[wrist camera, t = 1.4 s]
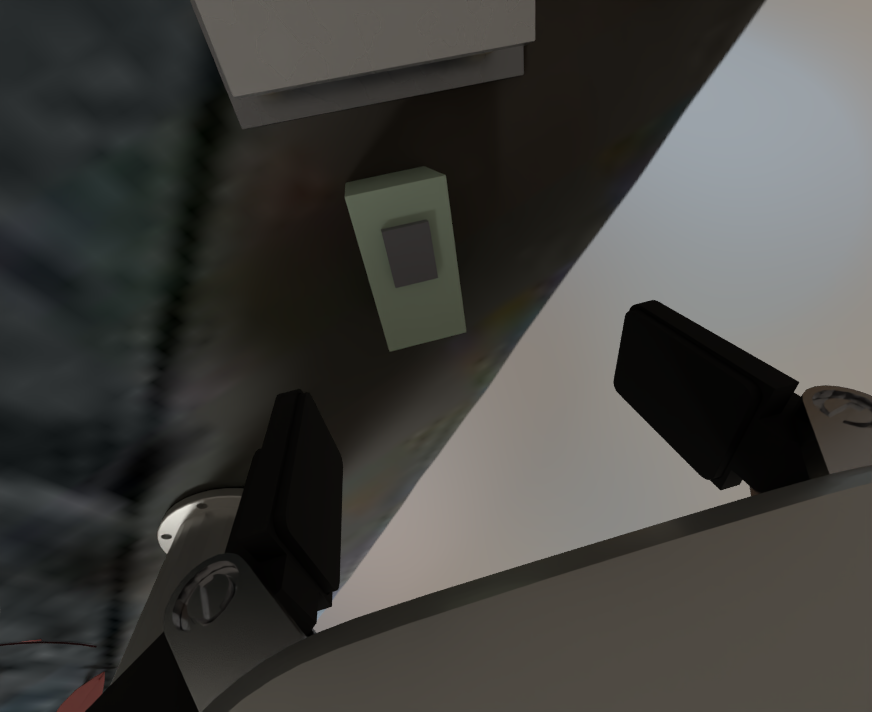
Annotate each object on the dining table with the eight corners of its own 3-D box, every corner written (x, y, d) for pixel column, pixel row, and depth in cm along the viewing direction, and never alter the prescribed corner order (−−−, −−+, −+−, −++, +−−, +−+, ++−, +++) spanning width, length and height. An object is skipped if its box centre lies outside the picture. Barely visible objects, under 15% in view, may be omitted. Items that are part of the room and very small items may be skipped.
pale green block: (444, 295, 27) (469, 336, 21) (381, 311, 26) (390, 356, 21) (423, 165, 22) (448, 176, 16) (345, 182, 21) (344, 199, 16)
